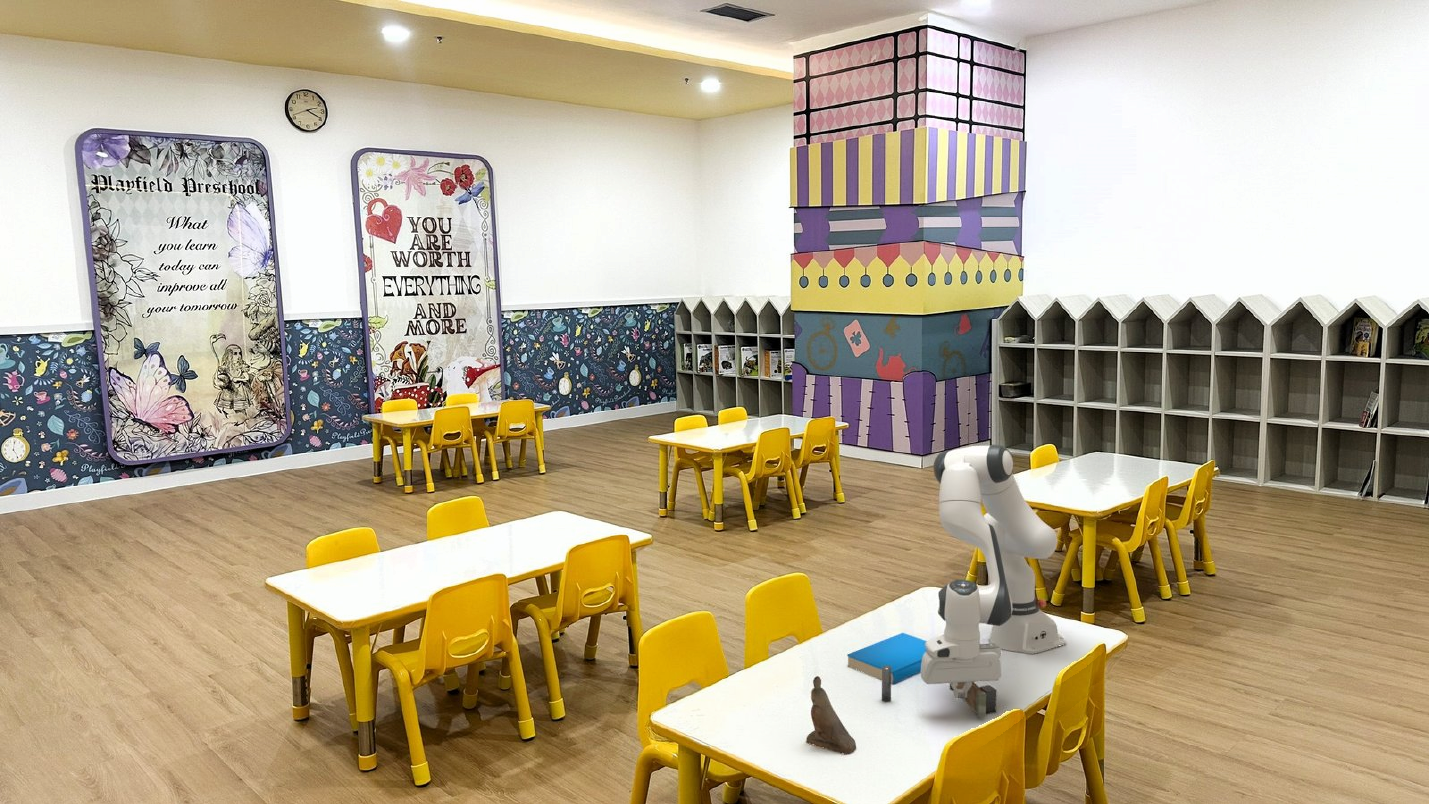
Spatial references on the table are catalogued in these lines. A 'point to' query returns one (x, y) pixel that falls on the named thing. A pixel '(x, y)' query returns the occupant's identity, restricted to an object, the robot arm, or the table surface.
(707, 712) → the table surface
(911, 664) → the book
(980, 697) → the gate
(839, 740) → the worn brown figurine
